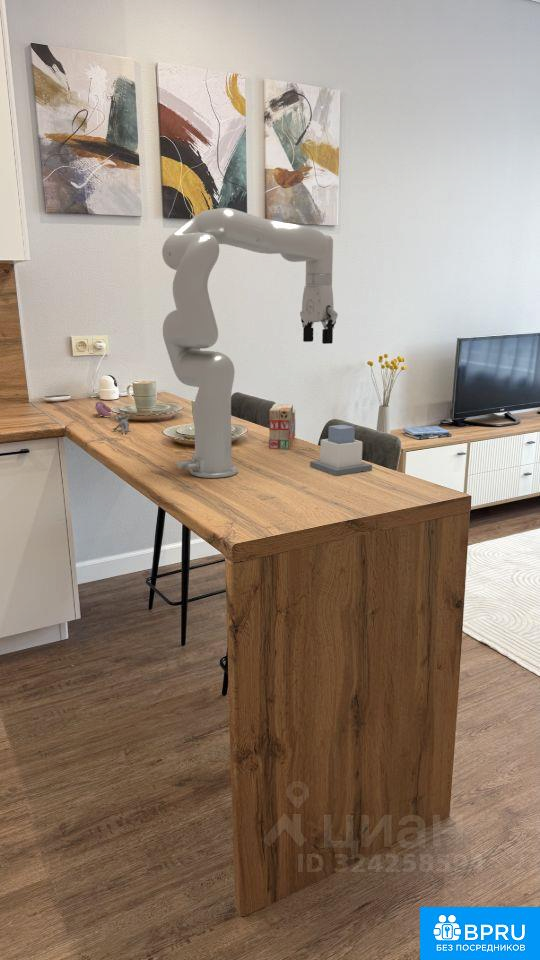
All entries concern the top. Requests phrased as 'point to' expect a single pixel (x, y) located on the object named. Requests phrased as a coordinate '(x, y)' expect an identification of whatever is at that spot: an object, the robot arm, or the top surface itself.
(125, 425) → the elephant figurine
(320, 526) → the top surface
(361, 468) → the tower base
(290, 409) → the stack of blocks
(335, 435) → the top brick
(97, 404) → the purple rounded piece
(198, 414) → the robot arm
